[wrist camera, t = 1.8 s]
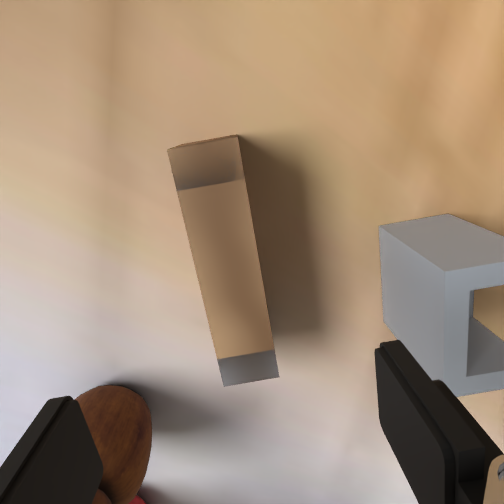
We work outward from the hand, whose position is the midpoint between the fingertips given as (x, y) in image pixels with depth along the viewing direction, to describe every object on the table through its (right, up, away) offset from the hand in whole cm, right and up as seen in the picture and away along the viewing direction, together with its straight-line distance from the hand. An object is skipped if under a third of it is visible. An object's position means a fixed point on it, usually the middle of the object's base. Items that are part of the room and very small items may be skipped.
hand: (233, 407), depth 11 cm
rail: (-1, +5, +13) cm, 14 cm away
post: (+12, +4, +14) cm, 19 cm away
